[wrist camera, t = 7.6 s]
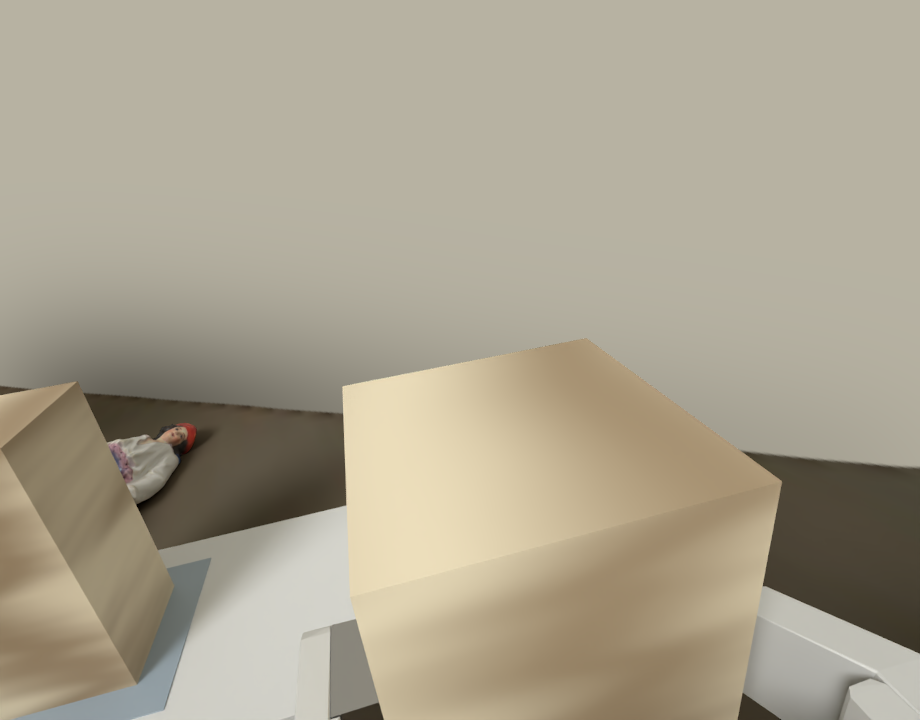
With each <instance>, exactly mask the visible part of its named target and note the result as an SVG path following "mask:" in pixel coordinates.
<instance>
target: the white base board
mask: <svg viewBox="0 0 920 720" xmlns="http://www.w3.org/2000/svg"><path fill="white" fill-rule="evenodd" d="M158 552H159V554H160V556H161V558H162V560H163V563H164V565H165V567H166V569H167V571H168V573H169V575H170V577H171V579H172V582H173V584H174V588H173V591H172V594H171V596H170V599H169V602H168V604H167V607H166V610H165V612H164V615H163V618H162V620H161V623H160V626H159V628H158V631H157V633H156V636H155V639H154V641H153V644H152V647H151V649H150V652H149V655H148V657H147V660H146V663H145V665H144V668H143V670H142V673H141V676H140V678H139V681H138V684H137V685H134V686H131V687H127V688H123V689H120V690H116V691H112V692H109V693H105V694H102V695H98V696H94V697H91V698H87V699H83V700H80V701H76V702H73V703H69V704H65V705H62V706H58V707H55V708H51V709H47V710H44V711H40V712H36V713H33V714H29V715H26V716H22V717H18V718H15V719H11V720H294V718H295V704H296V689H297V675H298V661H299V647H300V640H301V637H302V634H303V633H304V632H308V631H311V630H315V629H319V628H323V627H327V626H331V625H334V624H338V623H342V622H346V621H350V620H354V619H356V617H355V614H354V610H353V606H352V603H351V599H350V585H349V556H348V528H347V506H343V507H339V508H334V509H330V510H326V511H322V512H317V513H313V514H309V515H305V516H301V517H296V518H292V519H288V520H284V521H280V522H275V523H271V524H267V525H263V526H259V527H254V528H250V529H246V530H242V531H238V532H233V533H229V534H225V535H221V536H217V537H212V538H208V539H204V540H200V541H196V542H191V543H187V544H183V545H179V546H175V547H170V548H166V549H162V550H158Z"/></svg>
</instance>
